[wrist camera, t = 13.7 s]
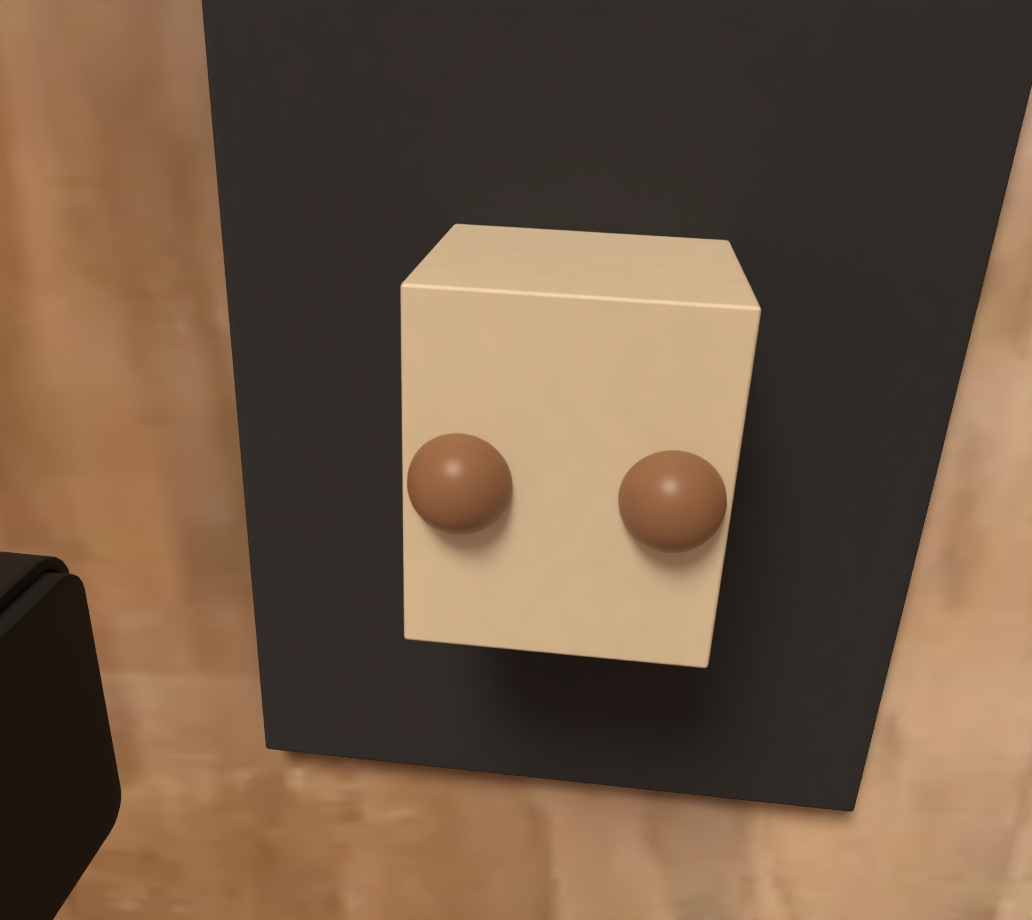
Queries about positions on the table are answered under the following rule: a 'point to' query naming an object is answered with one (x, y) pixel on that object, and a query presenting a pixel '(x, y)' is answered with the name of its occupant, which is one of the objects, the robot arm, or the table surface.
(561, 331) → the cream wooden brick
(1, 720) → the robot arm
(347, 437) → the mat
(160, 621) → the table surface
